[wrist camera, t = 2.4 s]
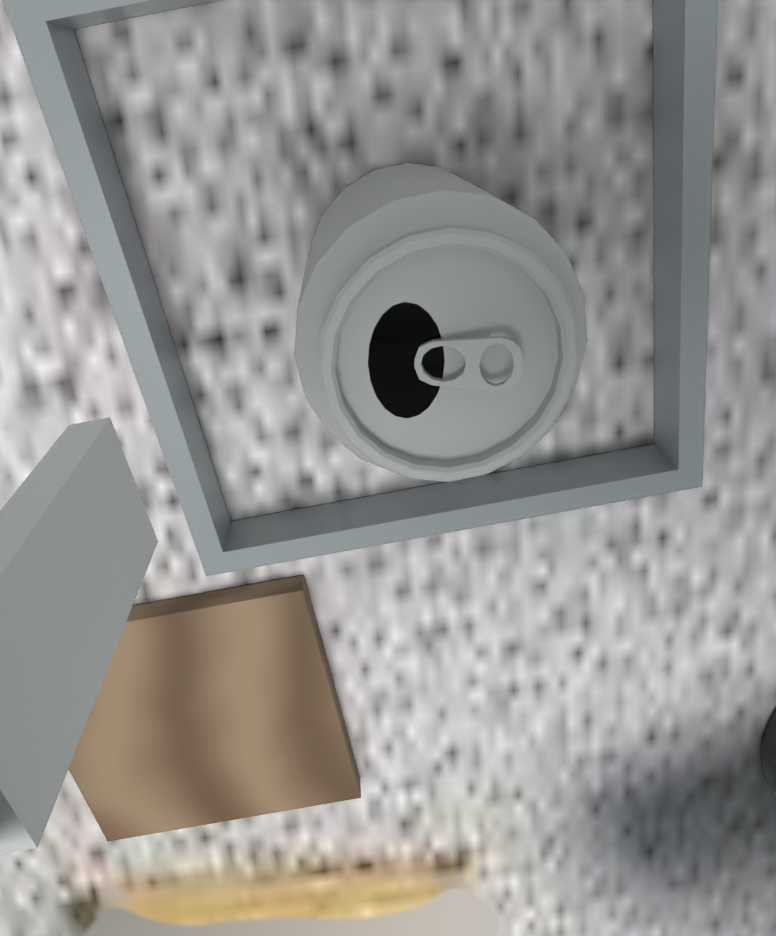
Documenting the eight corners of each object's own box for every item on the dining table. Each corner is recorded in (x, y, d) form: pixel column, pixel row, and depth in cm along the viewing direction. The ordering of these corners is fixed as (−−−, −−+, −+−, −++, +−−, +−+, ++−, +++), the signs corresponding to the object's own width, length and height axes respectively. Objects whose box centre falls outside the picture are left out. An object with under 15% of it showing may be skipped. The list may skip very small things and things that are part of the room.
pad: (303, 574, 33) (302, 590, 32) (360, 779, 40) (360, 797, 39) (11, 627, 34) (0, 644, 33) (113, 821, 40) (107, 841, 39)
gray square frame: (684, -132, 22) (722, -158, 20) (676, 460, 32) (702, 486, 30) (31, -1, 23) (-2, -13, 21) (215, 543, 32) (206, 576, 30)
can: (300, 165, 26) (273, 206, 15) (508, 157, 26) (628, 191, 15) (316, 365, 29) (304, 517, 18) (500, 356, 29) (594, 500, 19)
